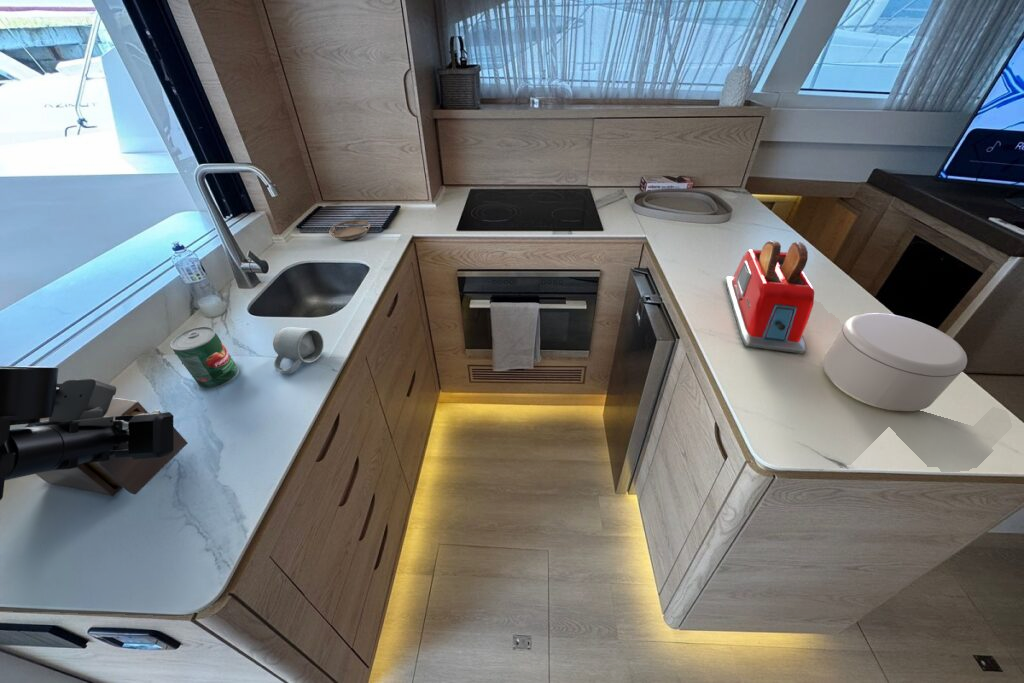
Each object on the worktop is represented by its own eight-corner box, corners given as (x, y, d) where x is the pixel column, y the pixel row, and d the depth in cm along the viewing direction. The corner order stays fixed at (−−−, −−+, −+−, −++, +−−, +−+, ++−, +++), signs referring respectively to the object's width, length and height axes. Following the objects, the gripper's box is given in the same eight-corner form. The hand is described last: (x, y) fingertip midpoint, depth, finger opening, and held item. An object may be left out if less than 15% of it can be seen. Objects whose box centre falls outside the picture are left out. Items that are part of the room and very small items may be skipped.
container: (798, 362, 85) (823, 318, 78) (865, 347, 88) (895, 303, 81) (878, 425, 71) (917, 379, 64) (954, 405, 74) (1000, 358, 67)
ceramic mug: (300, 343, 96) (287, 318, 91) (328, 348, 94) (317, 323, 89) (268, 373, 88) (252, 346, 83) (298, 379, 86) (284, 352, 81)
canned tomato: (239, 380, 86) (214, 341, 79) (197, 394, 83) (167, 355, 76) (238, 360, 91) (214, 322, 85) (199, 372, 88) (171, 334, 82)
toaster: (806, 355, 87) (849, 281, 75) (743, 347, 90) (774, 274, 78) (773, 284, 111) (801, 219, 99) (724, 279, 114) (746, 215, 102)
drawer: (209, 446, 71) (182, 413, 66) (158, 499, 63) (123, 467, 58) (132, 434, 74) (100, 401, 68) (74, 483, 66) (33, 451, 61)
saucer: (333, 245, 140) (330, 238, 139) (329, 231, 151) (327, 224, 149) (374, 237, 145) (373, 230, 143) (368, 224, 156) (367, 217, 154)
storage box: (173, 440, 74) (138, 401, 67) (113, 496, 65) (66, 458, 58) (114, 430, 76) (75, 392, 69) (49, 484, 67) (-4, 445, 60)
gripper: (118, 378, 49) (210, 376, 65) (-36, 388, 49) (94, 384, 64) (117, 468, 49) (211, 445, 64) (-39, 480, 48) (93, 453, 64)
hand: (152, 430), depth 64 cm, fingers closed
